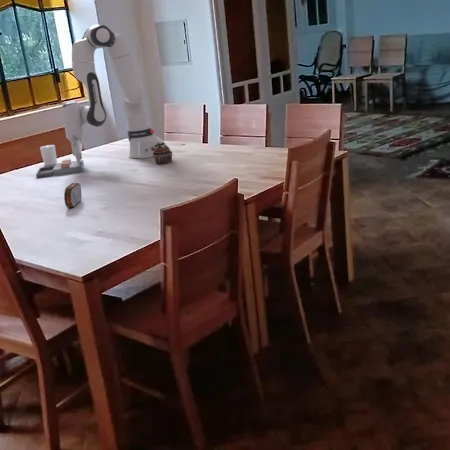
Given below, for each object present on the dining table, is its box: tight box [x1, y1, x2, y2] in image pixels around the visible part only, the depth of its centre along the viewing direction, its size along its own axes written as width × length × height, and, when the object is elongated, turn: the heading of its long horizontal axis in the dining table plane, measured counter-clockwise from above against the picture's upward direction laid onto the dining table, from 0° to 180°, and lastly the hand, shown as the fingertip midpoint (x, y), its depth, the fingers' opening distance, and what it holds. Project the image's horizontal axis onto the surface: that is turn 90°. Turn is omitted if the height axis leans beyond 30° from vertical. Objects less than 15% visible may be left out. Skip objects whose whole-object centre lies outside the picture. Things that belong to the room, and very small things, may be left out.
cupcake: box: [153, 143, 173, 166], centre depth 320 cm, size 10×10×10 cm
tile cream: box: [61, 158, 72, 164], centre depth 332 cm, size 4×4×2 cm
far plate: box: [53, 159, 85, 177], centre depth 329 cm, size 14×16×3 cm
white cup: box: [39, 144, 58, 167], centre depth 350 cm, size 8×8×10 cm
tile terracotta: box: [60, 161, 70, 168], centre depth 324 cm, size 4×4×2 cm
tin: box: [63, 182, 83, 209], centre depth 260 cm, size 15×3×8 cm, turn 175°
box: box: [35, 165, 55, 179], centre depth 328 cm, size 8×16×2 cm, turn 9°
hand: (79, 161), depth 329 cm, fingers open, 8 cm apart
